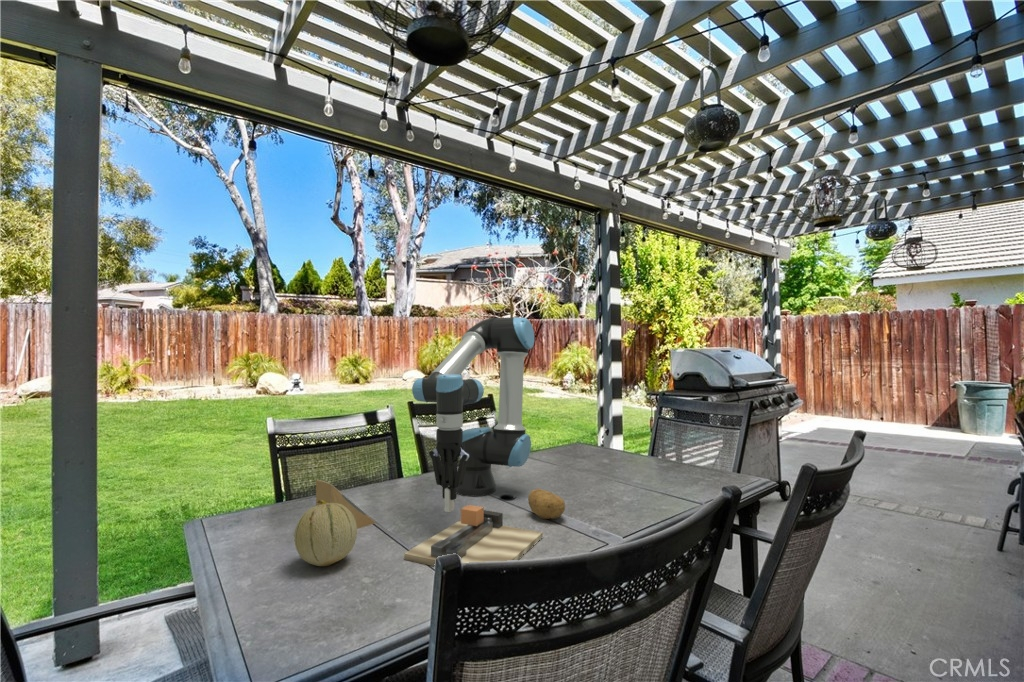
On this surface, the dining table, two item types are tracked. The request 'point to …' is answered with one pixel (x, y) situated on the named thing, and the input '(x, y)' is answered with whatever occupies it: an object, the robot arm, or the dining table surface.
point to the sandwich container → (341, 502)
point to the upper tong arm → (471, 538)
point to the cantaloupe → (325, 534)
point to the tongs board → (490, 548)
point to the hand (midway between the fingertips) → (449, 510)
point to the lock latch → (472, 515)
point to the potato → (546, 504)
